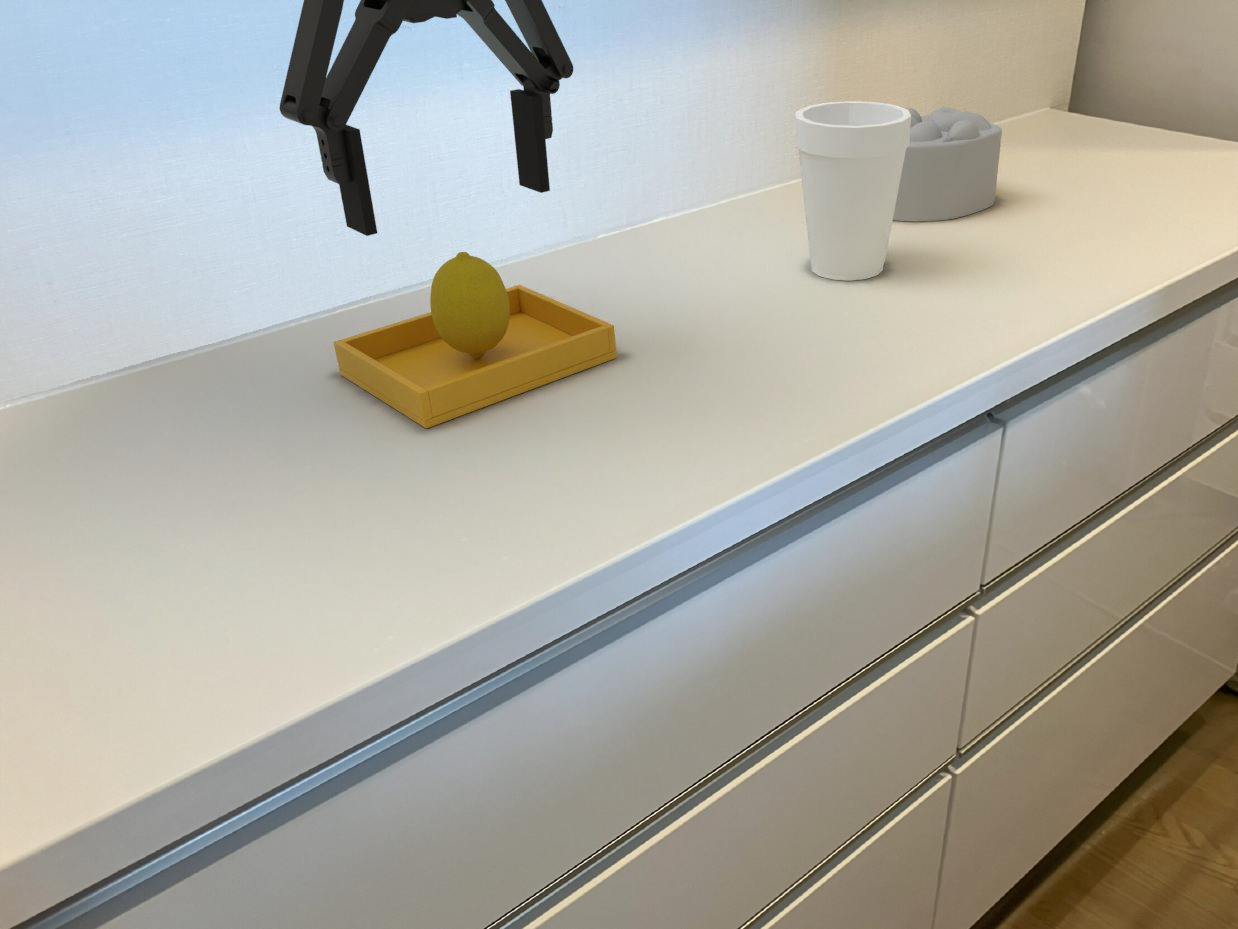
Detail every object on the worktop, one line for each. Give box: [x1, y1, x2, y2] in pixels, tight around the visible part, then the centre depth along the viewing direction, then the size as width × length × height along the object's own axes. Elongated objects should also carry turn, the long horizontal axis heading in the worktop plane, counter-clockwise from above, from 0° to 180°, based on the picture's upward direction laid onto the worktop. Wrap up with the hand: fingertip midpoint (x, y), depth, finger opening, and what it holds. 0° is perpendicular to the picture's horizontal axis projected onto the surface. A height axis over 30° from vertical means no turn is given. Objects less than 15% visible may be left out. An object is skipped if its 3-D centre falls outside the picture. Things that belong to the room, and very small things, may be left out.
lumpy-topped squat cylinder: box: [893, 106, 1003, 222], centre depth 113 cm, size 10×13×9 cm
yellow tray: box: [333, 284, 617, 429], centre depth 84 cm, size 16×12×3 cm
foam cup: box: [794, 100, 911, 282], centre depth 97 cm, size 10×9×13 cm
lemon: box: [429, 251, 510, 359], centre depth 82 cm, size 6×6×8 cm
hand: (452, 208), depth 78 cm, fingers open, 13 cm apart
